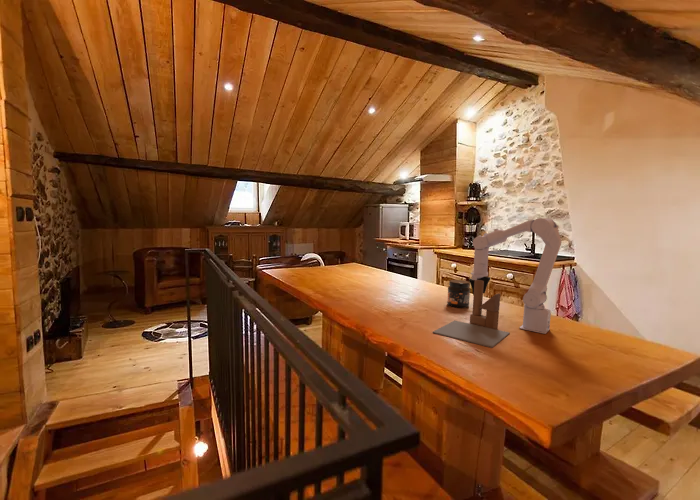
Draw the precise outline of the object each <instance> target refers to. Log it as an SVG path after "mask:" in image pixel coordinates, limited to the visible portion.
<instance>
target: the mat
mask: <svg viewBox="0 0 700 500" xmlns="http://www.w3.org/2000/svg"><path fill="white" fill-rule="evenodd" d="M432 334H436V335H439V336H443V337H447V338H451V339H455V340H458V341H463V342H468V343H471V344H475V345H479V346H483V347H487V348H490V349H492V348H494V347H495V346H496V345H498V344H499V343H500V342H501V341H502V340H504V339H505V338H506V337H508V336H509V335H510V334H511V333H510V332H509V331H505V330H500V329H492V328H487V327H483V326H480V325H476V324H473V323H470V322H464V321H460V320H453V321H451V322H449V323H447V324H445V325H443V326H441V327H440V328H438V329H435V330H433V331H432Z"/></svg>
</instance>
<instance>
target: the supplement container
mask: <svg viewBox="0 0 700 500" xmlns="http://www.w3.org/2000/svg"><path fill="white" fill-rule="evenodd" d="M448 284H449V286H448V287H447V301H446V303H447V305H448V306H450V307H452V308H458V309H465V308H468V307H469V306H470V298H471V296H470V295H471V294H470V293H471V288H470V286H471V284H470V282H469V280H462V279H451V280H449V281H448Z"/></svg>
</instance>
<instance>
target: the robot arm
mask: <svg viewBox="0 0 700 500" xmlns="http://www.w3.org/2000/svg"><path fill="white" fill-rule="evenodd" d="M525 232H526V233H527V232H529V233H534V234H535V235H536V236H537V237H539V238H540V239H541V240H542V242H543V243H544V245H545V246H544V248H543V251H542V254H541V257H540V260H539V263H538V266H537V269H536V271H535V275H534V278H533V281H532V283H531V284H530V286H529V288H528V291H527V292H526V293H524V295H523V297H522V301H523V304H524V305H523V316H522V317H523V318H522V325H520V326H519V329H520V330H525V331H530V332H535V333H538V334H539V333H540V334H543V335H544V334H547V333H548V332H549V331H550V330H551V329H550V327H551V316H552V315H551V313H552V311H551V310H550V309H547V308H545V305H544V303H546V302H547V298H548V296H547V291H548V286H547V285H548V283H549V280H550V276H551V274H552V273H553V269H554V266H555V262H556V261H557V257H558V254H559V252H560V248H561V246H562V239H561V235H560V232H559V226H558V224H557V223H556V222H555V220H553V219H551V218H549V217H546V218H543V217H537V218H536V219H531V220H526V221H524V222H522V223H519V224H517V225H514V226H511V227H509V228H507V229H505V230H504V229H502V228H494V229H493V231H490V232H488V233H487V232H485V233H483V235H477V236H476V237H474V239H473V241H472V245H473V247H474V255H473V257H474V258H473V270H472V271H473V272H472V271H471V272H470V275H471V278H469V279H468V282H469V283H470V287H471V292H472V296H473V297H474V283H475V280H482V281H484V287H483V294H486V290H487V288H488V285H489V283H490V280H491V279H492V278H491V277H489V271H488V266H489V249H490V248H491V247H494V246H496V245H500V244H502V243H505V242H506V241H507V239H508V238H510V237H513V236H516V235H519V234H522V233H525Z"/></svg>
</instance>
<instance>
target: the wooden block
mask: <svg viewBox="0 0 700 500" xmlns="http://www.w3.org/2000/svg"><path fill="white" fill-rule="evenodd" d="M483 287H484V281H482V280H475V283H474V296H473V300H472V313H471V314H470V315H469V324H473V325H478V326H483V327H487V328H492V329H496V330H498V327H499V315H500V304H501V303H500V302H501V293H496V294H493V295H492V296H491V297H490V298H489V299H488V300H487V301H485V302H484V301H483V298H484V297H483V296H484V293H483ZM483 302H484V303H483ZM483 310H485V315H483V314H482V313H483Z"/></svg>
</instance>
